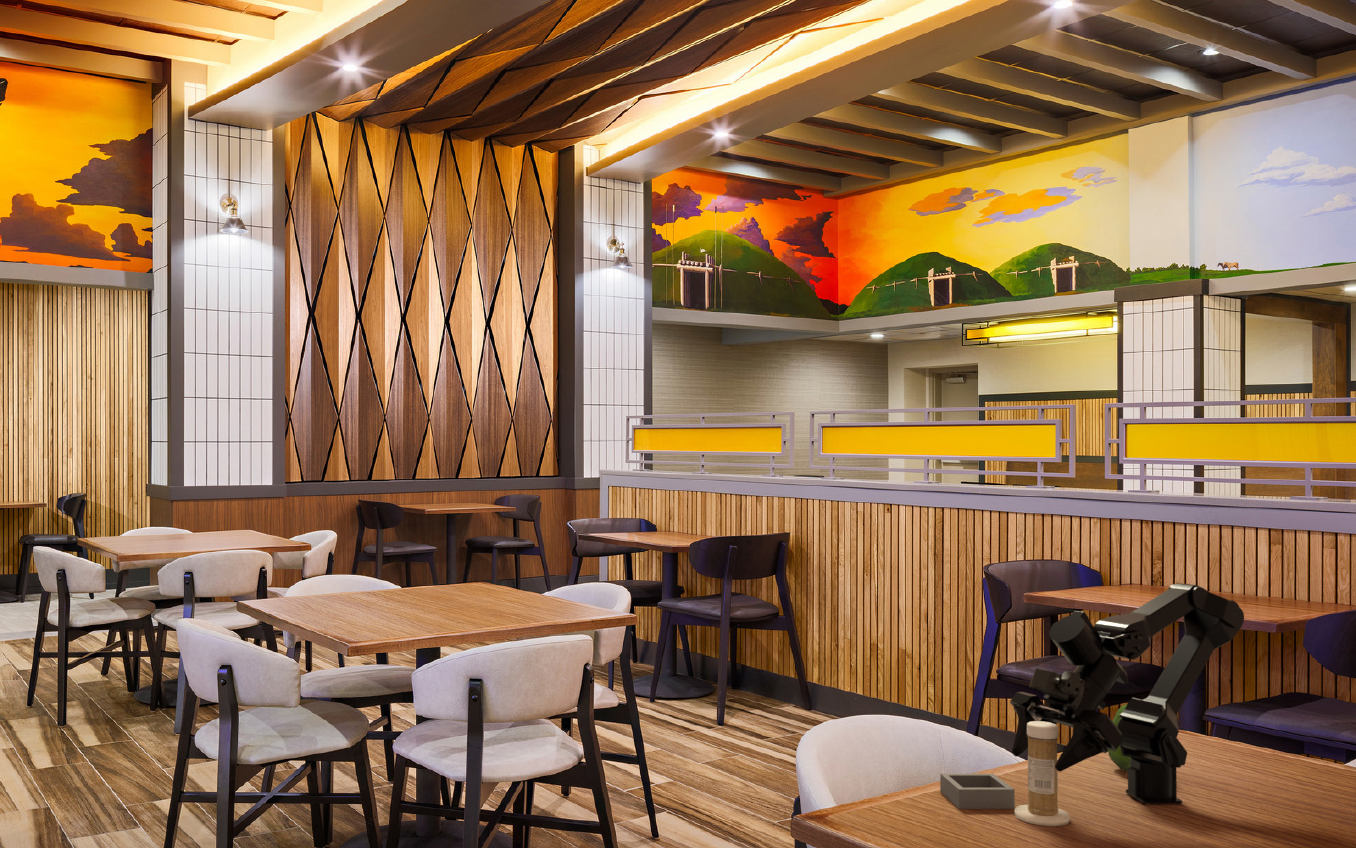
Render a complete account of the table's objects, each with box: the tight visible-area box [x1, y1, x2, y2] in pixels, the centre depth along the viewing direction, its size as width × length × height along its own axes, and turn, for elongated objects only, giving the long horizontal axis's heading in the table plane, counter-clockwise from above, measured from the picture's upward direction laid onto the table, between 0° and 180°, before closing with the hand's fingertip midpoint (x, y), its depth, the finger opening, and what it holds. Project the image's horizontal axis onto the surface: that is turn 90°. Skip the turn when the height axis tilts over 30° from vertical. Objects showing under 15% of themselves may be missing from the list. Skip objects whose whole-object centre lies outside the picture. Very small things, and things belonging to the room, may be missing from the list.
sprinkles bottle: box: [1027, 721, 1059, 816], centre depth 162 cm, size 5×5×13 cm
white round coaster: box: [1014, 804, 1071, 827], centre depth 162 cm, size 8×8×1 cm
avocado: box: [1107, 703, 1131, 772], centre depth 190 cm, size 8×8×12 cm
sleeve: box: [939, 773, 1016, 810], centre depth 170 cm, size 9×9×3 cm
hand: (1034, 762), depth 162 cm, fingers open, 9 cm apart
